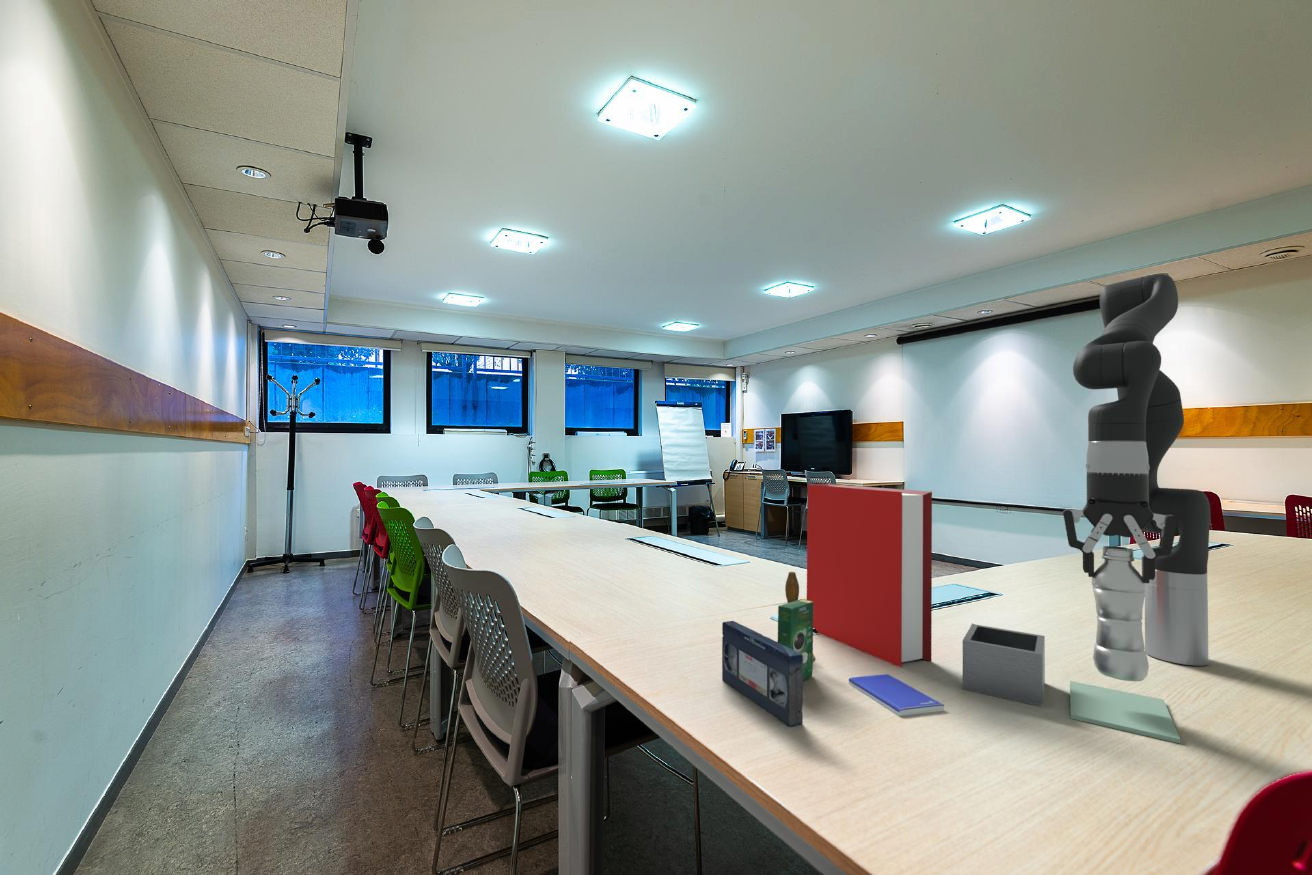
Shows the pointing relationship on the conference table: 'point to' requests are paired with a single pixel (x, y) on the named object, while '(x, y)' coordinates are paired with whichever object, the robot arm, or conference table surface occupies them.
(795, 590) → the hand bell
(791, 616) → the coffee box
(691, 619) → the conference table surface
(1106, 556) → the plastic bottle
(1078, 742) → the conference table surface
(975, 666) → the sleeve
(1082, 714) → the mat
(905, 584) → the book
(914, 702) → the hard drive
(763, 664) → the vhs cassette tape
